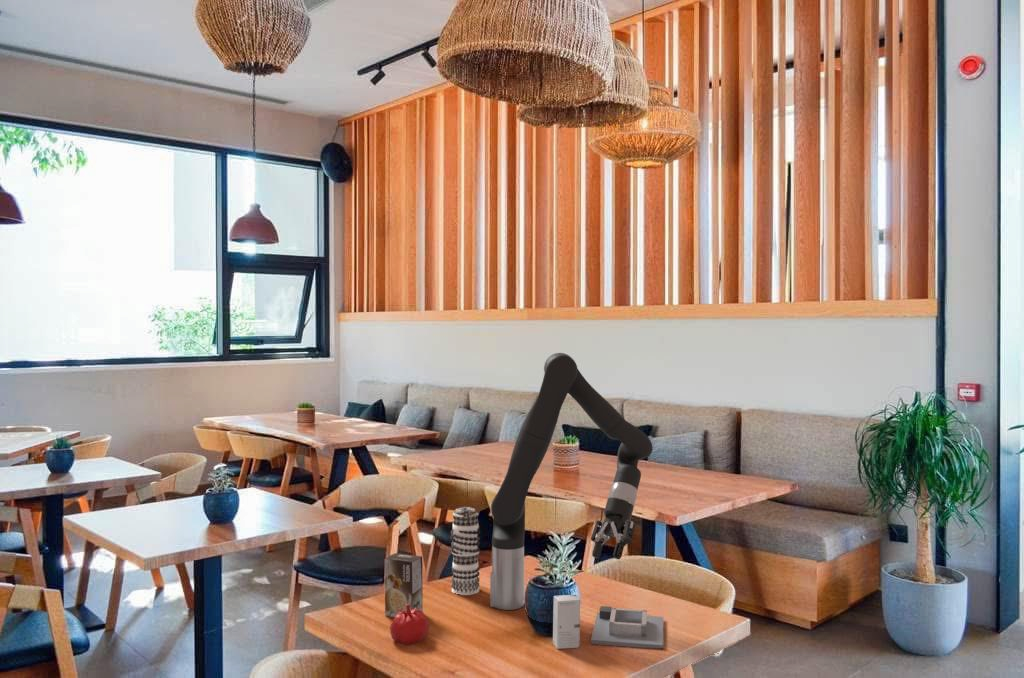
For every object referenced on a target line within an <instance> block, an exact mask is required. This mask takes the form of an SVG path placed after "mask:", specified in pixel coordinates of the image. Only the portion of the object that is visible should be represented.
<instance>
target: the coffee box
mask: <svg viewBox="0 0 1024 678" xmlns="http://www.w3.org/2000/svg"><path fill="white" fill-rule="evenodd" d="M423 592H424V591H423V556H421V555H415V554H414V555H413V554H405V553H396V552H395V553H393V554H391V555H389V556H388V557H386V558H384V605H385V606H384V609H385V610H384V614H385V616H386V617H390V618H395V617H396V615H397V614H398V613H400V612H401V611H396V610H398V609H401V610H403V611H407V607H406V605H407V604H410V610H414V609H415V608H420V609H416V610H420V611H422V612H423V613H424V610H423V609H424V607H423V606H424V604H423V603H424V601H423V599H424V598H423V594H424V593H423Z"/></svg>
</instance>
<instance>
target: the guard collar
mask: <svg viewBox="0 0 1024 678" xmlns="http://www.w3.org/2000/svg"><path fill="white" fill-rule="evenodd" d="M647 616H648V610H646V609H634V608H633V609H632V608H631V609H630V608H617V607H612V610H611V616H610V621H609V635H619V636H633V637H646V631H647ZM616 621H625V622H640V623H642V624H638V623H624V622H616Z"/></svg>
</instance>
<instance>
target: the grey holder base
mask: <svg viewBox="0 0 1024 678" xmlns="http://www.w3.org/2000/svg"><path fill="white" fill-rule="evenodd" d="M612 608H613V607H612V606H605V605H601V606H600V609H599V612H596V616H595V621H594V625H593V629H592V634H591V639H590V644H591V645H602V646H603V645H604V646H614V647H617V646H618V647H629V648H644V649H654V648H663V649H664V616H657V615H655V616H654V615H647V631H646V637H633V636H619V635H609V621H610V616H611V610H612ZM616 622H624V623H638V624H642V623H640V622H625V621H616Z"/></svg>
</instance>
